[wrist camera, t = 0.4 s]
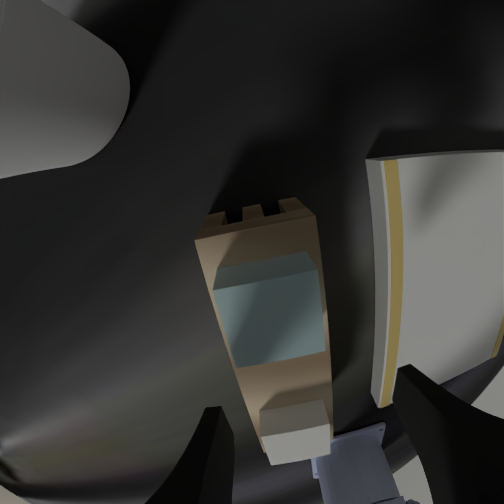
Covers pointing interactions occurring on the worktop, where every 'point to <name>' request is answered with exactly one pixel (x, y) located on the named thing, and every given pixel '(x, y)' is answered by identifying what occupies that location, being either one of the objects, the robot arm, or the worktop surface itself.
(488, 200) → the dock
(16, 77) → the pill bottle
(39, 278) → the worktop surface
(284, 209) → the tan notched block
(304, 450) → the crate
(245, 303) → the block
